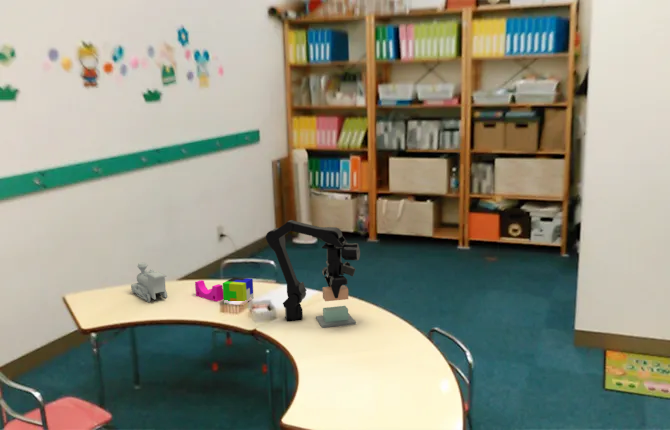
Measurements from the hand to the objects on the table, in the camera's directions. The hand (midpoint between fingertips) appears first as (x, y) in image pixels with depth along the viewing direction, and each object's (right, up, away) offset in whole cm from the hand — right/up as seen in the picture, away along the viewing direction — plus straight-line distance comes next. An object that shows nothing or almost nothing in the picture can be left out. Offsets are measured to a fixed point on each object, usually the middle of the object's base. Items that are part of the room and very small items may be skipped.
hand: (334, 296), depth 256 cm
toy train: (-88, -6, +42) cm, 98 cm away
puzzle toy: (-44, -7, +31) cm, 54 cm away
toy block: (-58, -6, +38) cm, 70 cm away
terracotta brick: (0, -1, 0) cm, 1 cm away
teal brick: (0, -10, +2) cm, 10 cm away
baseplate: (0, -11, +2) cm, 11 cm away
